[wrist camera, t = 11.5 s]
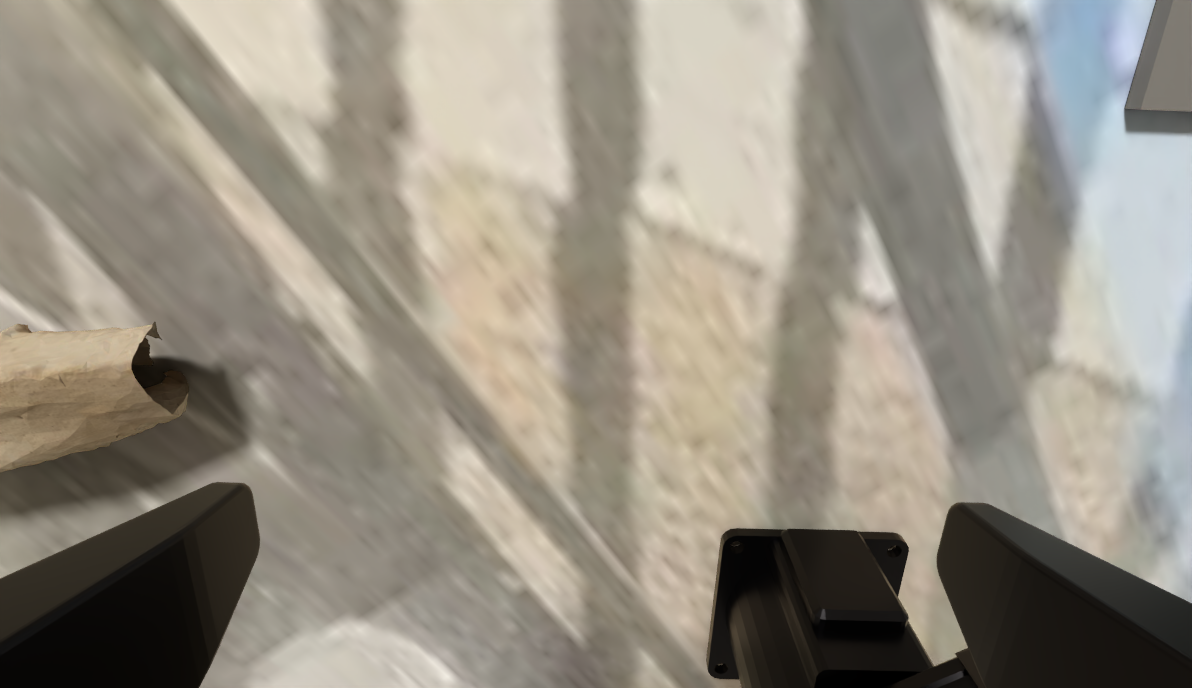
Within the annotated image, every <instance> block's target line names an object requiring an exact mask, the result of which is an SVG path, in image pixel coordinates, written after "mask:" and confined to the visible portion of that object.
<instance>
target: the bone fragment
mask: <svg viewBox="0 0 1192 688" xmlns="http://www.w3.org/2000/svg"><path fill="white" fill-rule="evenodd" d="M145 335H149V336H152V337H154V338H160V336H159V334H158V332H157V328H156V323H155V322H154V323H153V324H152V325H147V326H142V327H137V328H129V329H120V328H108V329H99V330H89V331H66V332H51V331H38V332H31V331H30V330H29V329H28V325H21V324H16V325H14V326H12V327H10V328H8V329H6V330H3V331H1V332H0V473H1V472H4V471H7V470H12V469H15V468H18V467H24V466H30V465H36V464H39V463H41V462H43V461H48V460H55V459H57V458H59V457H62V456H65V455H68V454H71V453H76V452H83V451H89V450H95V449H97V448H98V447H106V446H109V445H110V444H111V442H114V441H118V440H121V439H123V438H125V437H127V436H133V435H135V434H136V433H142V432H143V431H144V430H146V429H150V428H153V427H154V426H155V425H157V424H158V423H163V424H164V423H167V422H169V421H171V420H172V419H176V418H178V417H180V416H181V415H182V412H185V411H186V406H187V399H188V392H189V385H188V383H187V380H186V378H185V376H184V375H183V374H182V373H180V372H178V371H173V370H169V371H167V372H163V373H164V374H166V375H167V376H166V378H165V379H164V380H163V382H162V383H160V384H157V385H154V386H151V387H147V388H144V389H143V388H142V387H141V386H140V384H139V383H138V381H137V380H136V378H135V376H134V374H133V372H132V370H131V365H150V366H153V365H152V363H153V361H152V360H151V358H150V356H149V353H150V352H149V350H150V345H149V344H148V340H147V339H146V338H145V337H146V336H145ZM160 339H161V338H160ZM161 340H162V339H161Z"/></svg>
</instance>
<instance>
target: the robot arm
mask: <svg viewBox="0 0 1192 688" xmlns="http://www.w3.org/2000/svg"><path fill="white" fill-rule="evenodd" d="M737 541H739V542H741V544H739V545H738V546H731V544H732V543H733V542H737ZM895 545H896V547H895V548H894V549H892V550H888V548H890V547H891V546H895ZM259 546H260V535H259V529H258V523H257V517H256V511H255V505H254V499H253V494H252V491H251V489H250V487H249V486H247V485H246V484H244V483H225V482H216V483H211V484H209V485H207V486H204V487H202V488H200V489H198V490H196V491H193V492H191V493H189V494H187V495H185V496H182V497H180V498H178V499H176V500H173V501H171V502H169V503H167V504H165V505H162V506H160V507H158V508H156V509H154V510H151V511H149V512H147V513H145V514H142V515H140V516H138V517H136V518H134V519H131V520H129V521H127V522H125V523H122V524H120V525H118V526H116V527H114V528H111V529H109V530H107V531H105V532H103V533H100V534H98V535H96V536H94V537H91V538H89V539H87V540H85V541H83V542H80V543H78V544H76V545H74V546H71V547H69V548H67V549H65V550H63V551H60V552H58V553H56V554H54V555H52V556H49V557H47V558H45V559H43V560H40V561H38V562H36V563H34V564H32V565H29V566H27V567H25V568H23V569H20V570H18V571H16V572H14V573H12V574H9V575H7V576H5V577H3V578H1V579H0V688H199V687H200V685H201V683H202V681H203V679H204V677H205V675H206V673H207V671H208V669H209V668H210V666H211V663H212V661H213V659H214V657H215V655H216V653H217V650H218V648H219V646H220V644H221V641H222V639H223V637H224V634H225V632H226V629H227V627H228V625H229V622H230V620H231V618H232V615H233V613H234V610H235V608H236V606H237V603H238V601H239V599H240V596H241V594H242V592H243V589H244V587H245V584H246V582H247V580H248V577H249V575H250V573H251V570H252V568H253V566H254V563H255V561H256V558H257V556H258V552H259ZM908 552H909V547H908V546H907V544H906V542H905V541H904V539H903V538H902V536H900V535H899V534H897V533H889V532H857V531H852V530H814V529H787V530H777V529H739V528H736V529H730V530H728V531H726V532H725V533H724V534H723V535H722V538H721V542H720V550H719V558H718V567H717V575H716V583H715V592H714V600H713V608H712V617H711V625H710V633H709V641H708V650H707V658H706V662H707V667H708V672H709V674H710V675H711V676H713V677H714V678H719V679H740V683H741V687H742V688H1192V603H1190V602H1188V601H1186V600H1184V599H1182V598H1180V597H1178V596H1176V595H1174V594H1171V593H1169V592H1167V591H1165V590H1163V589H1161V588H1159V587H1157V586H1155V585H1153V584H1151V583H1149V582H1147V581H1145V580H1143V579H1141V578H1139V577H1137V576H1135V575H1133V574H1131V573H1129V572H1126V571H1124V570H1122V569H1120V568H1118V567H1116V566H1114V565H1112V564H1110V563H1108V562H1106V561H1104V560H1102V559H1100V558H1098V557H1096V556H1094V555H1092V554H1090V553H1088V552H1086V551H1084V550H1082V549H1079V548H1077V547H1075V546H1073V545H1071V544H1069V543H1067V542H1065V541H1063V540H1061V539H1059V538H1057V537H1055V536H1053V535H1051V534H1049V533H1047V532H1045V531H1043V530H1041V529H1039V528H1037V527H1035V526H1032V525H1030V524H1028V523H1026V522H1024V521H1022V520H1020V519H1018V518H1016V517H1014V516H1012V515H1010V514H1008V513H1006V512H1004V511H1002V510H1000V509H998V508H996V507H994V506H992V505H989V504H985V503H962V502H961V503H956V504H954V505H952V506H951V508H950V509H949V511H948V514H947V517H946V521H945V525H944V529H943V533H942V537H941V541H940V545H939V549H938V553H937V569H938V573H939V576H940V579H941V581H942V584H943V586H944V589H945V591H946V594H947V596H948V599H949V601H950V604H951V606H952V609H953V611H954V614H955V616H956V619H957V621H958V623H959V626H960V628H961V631H962V633H963V636H964V638H965V641H966V643H967V646H968V648H967V649H964V650H962V651H960V652H957V653H955V654H956V656H957V657H955V658H953V659H951V660H948V661H946V662H943V663H941V664H939V665H936V666H934V665H933V663H932V662H931V660H930V658H929V656H928V655H927V653H926V651H925V649H924V648H923V646H922V644H921V643H920V641H919V639H918V637H917V636H916V634H915V632H914V630H913V629H912V627H911V625H910V624H909V622H908V614H907V612H906V610H905V609H904V607H903V605H902V604H901V602H900V600H899V599H898V594H899V590H900V585H901V581H902V577H903V573H904V569H905V565H906V560H907V556H908ZM721 663H723V665H717V664H721Z"/></svg>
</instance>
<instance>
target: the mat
mask: <svg viewBox="0 0 1192 688" xmlns="http://www.w3.org/2000/svg"><path fill="white" fill-rule="evenodd" d="M1125 109H1137V110H1161V111H1187V112H1192V0H1157V1H1156V4H1155V8H1154V11H1153V14H1152V18H1151V21H1150V25H1149V28H1148V31H1147V35H1146V38H1145V42H1144V45H1143V48H1142V52H1141V55H1140V59H1139V62H1138V65H1137V69H1136V72H1135V76H1134V79H1133V82H1132V86H1131V89H1130V93H1129V96H1128V100H1127V103H1126V106H1125Z"/></svg>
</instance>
